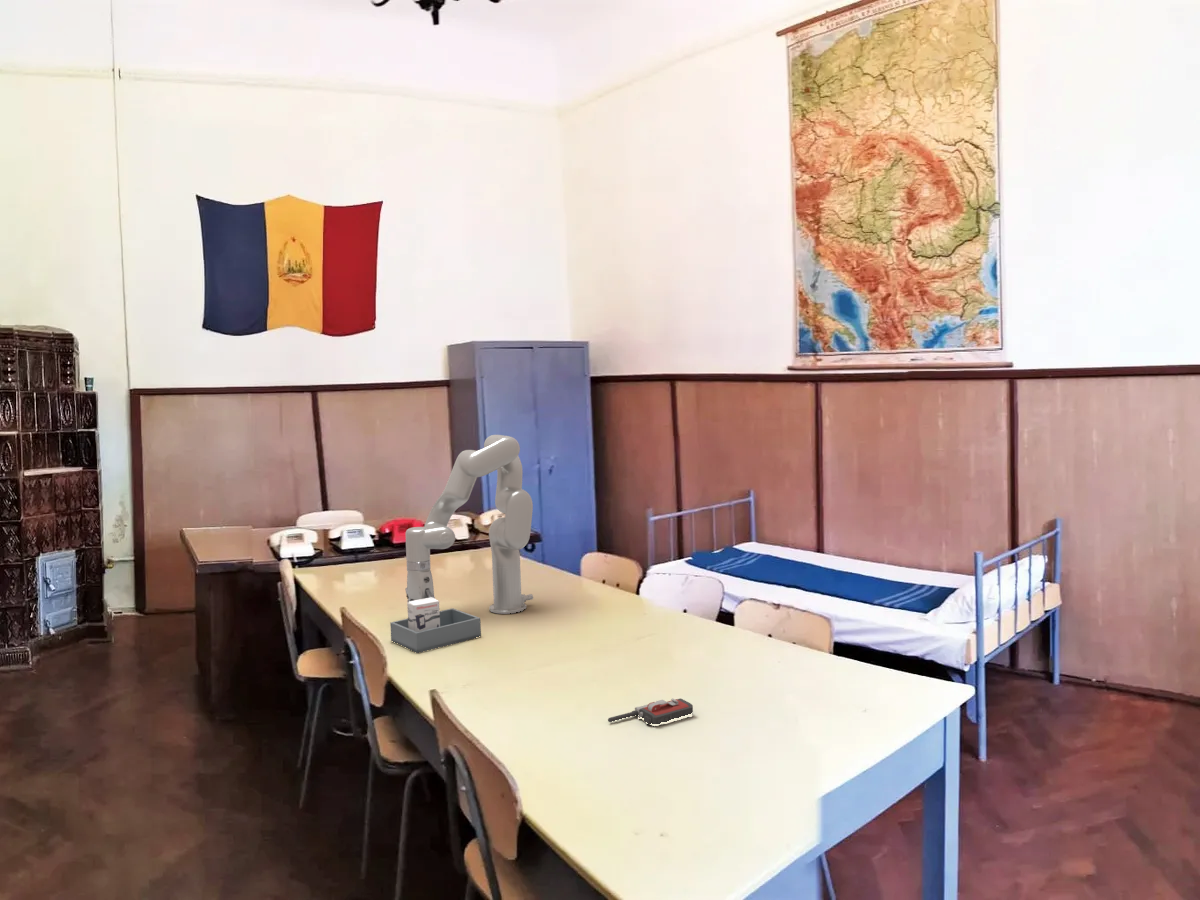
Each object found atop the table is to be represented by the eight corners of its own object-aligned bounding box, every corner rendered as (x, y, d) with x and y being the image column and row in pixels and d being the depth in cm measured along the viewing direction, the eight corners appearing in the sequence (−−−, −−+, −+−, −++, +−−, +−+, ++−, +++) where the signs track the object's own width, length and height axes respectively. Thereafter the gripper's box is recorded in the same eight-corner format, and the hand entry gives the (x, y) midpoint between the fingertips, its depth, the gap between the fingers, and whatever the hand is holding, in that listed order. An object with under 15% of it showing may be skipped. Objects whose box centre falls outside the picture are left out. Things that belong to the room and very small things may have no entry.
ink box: (415, 643, 260) (413, 604, 259) (408, 639, 264) (406, 601, 263) (441, 638, 265) (439, 600, 264) (434, 634, 269) (432, 596, 268)
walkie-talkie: (677, 705, 210) (605, 724, 200) (676, 687, 210) (605, 705, 200) (699, 717, 203) (626, 737, 193) (698, 698, 202) (625, 718, 192)
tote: (453, 626, 280) (452, 608, 280) (481, 637, 268) (480, 617, 268) (391, 641, 266) (390, 622, 265) (417, 653, 254) (416, 633, 253)
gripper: (442, 567, 278) (444, 620, 279) (415, 559, 291) (417, 610, 292) (421, 571, 273) (423, 625, 275) (395, 563, 286) (397, 614, 288)
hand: (420, 617), depth 284 cm, fingers open, 9 cm apart
